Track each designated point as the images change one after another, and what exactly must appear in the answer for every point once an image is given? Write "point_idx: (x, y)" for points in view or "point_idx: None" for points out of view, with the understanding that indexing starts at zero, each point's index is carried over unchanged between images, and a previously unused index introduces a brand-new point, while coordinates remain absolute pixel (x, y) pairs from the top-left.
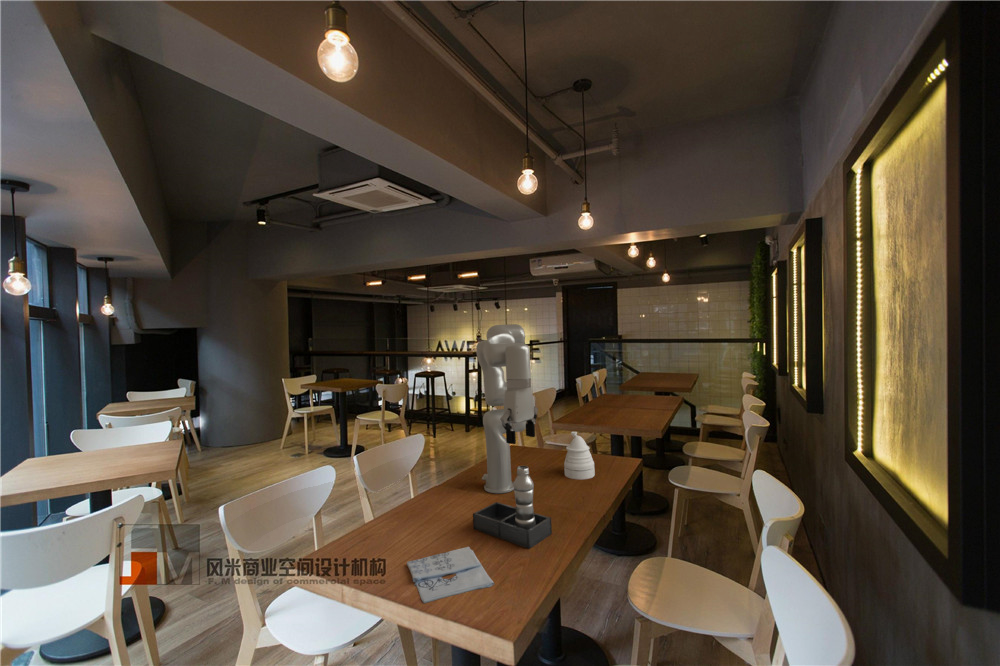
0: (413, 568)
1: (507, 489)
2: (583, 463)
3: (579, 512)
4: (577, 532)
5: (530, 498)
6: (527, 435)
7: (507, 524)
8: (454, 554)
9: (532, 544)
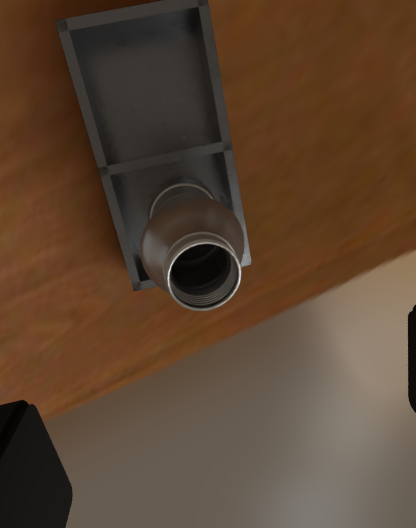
0: None
1: None
2: None
3: (399, 203)
4: (293, 287)
5: (192, 271)
6: (414, 331)
7: (112, 207)
8: None
9: None
